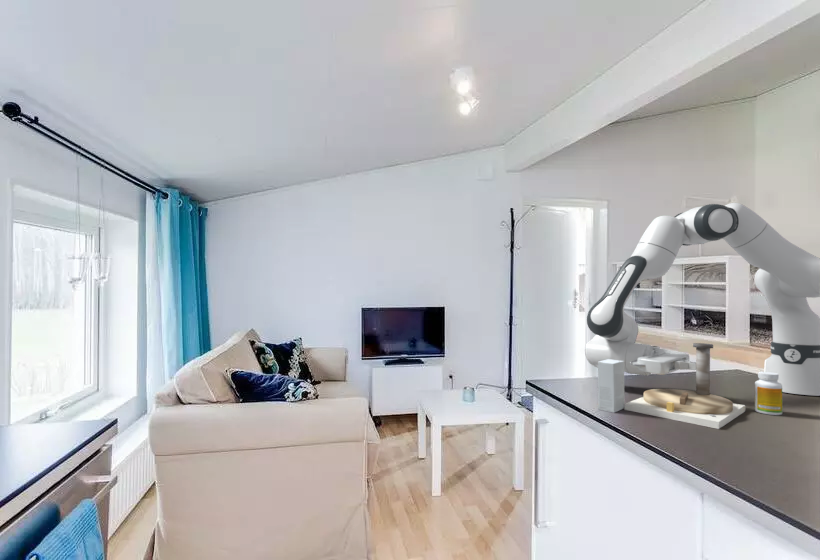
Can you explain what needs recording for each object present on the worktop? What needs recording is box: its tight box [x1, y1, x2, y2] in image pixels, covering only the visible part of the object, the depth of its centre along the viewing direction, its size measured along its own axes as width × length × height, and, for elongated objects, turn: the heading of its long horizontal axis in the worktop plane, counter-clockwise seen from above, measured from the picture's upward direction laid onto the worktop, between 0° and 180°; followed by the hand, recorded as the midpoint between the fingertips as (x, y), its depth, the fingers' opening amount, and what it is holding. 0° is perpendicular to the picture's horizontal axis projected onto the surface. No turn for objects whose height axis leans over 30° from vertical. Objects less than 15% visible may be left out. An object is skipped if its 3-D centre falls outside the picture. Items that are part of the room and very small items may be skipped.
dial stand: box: [624, 396, 746, 430], centre depth 113 cm, size 22×20×4 cm
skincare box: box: [597, 359, 625, 413], centre depth 114 cm, size 6×4×12 cm
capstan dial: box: [643, 342, 734, 414], centre depth 114 cm, size 19×19×14 cm
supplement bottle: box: [754, 371, 783, 416], centre depth 112 cm, size 5×5×10 cm
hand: (697, 366), depth 120 cm, fingers closed, pressing on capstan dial
